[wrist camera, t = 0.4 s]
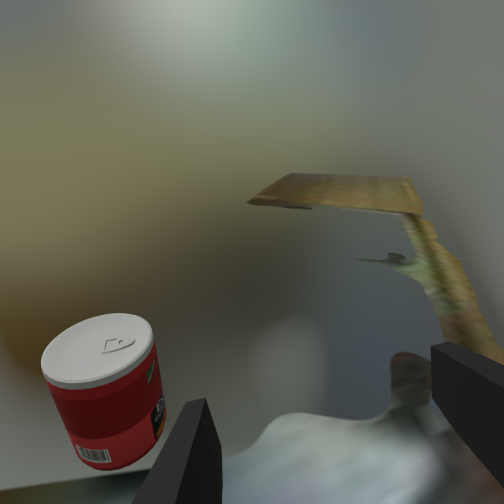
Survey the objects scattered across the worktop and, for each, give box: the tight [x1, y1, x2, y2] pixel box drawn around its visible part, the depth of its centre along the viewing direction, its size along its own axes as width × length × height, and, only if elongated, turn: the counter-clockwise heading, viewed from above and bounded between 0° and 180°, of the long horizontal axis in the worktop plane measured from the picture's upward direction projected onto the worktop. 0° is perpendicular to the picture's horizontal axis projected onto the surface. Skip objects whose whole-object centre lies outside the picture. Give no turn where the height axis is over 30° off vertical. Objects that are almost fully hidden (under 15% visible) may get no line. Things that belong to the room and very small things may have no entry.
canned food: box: [41, 313, 166, 471], centre depth 25 cm, size 8×8×11 cm
